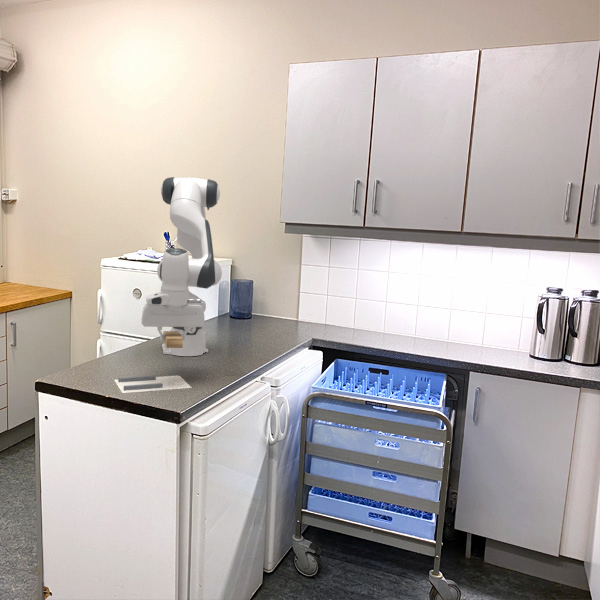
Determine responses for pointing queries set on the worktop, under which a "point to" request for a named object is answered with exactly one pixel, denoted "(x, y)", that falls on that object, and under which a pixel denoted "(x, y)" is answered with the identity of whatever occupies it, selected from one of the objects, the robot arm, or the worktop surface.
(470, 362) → the worktop surface
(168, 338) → the brown wooden block
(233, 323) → the worktop surface
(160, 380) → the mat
